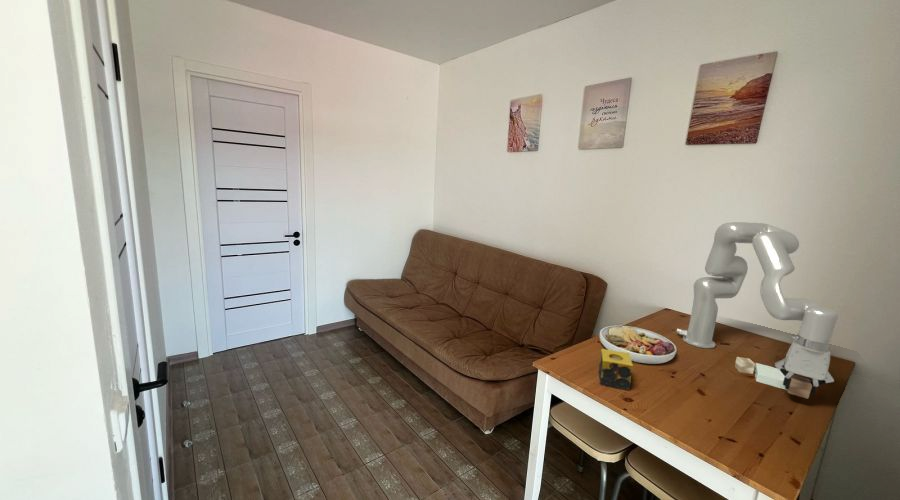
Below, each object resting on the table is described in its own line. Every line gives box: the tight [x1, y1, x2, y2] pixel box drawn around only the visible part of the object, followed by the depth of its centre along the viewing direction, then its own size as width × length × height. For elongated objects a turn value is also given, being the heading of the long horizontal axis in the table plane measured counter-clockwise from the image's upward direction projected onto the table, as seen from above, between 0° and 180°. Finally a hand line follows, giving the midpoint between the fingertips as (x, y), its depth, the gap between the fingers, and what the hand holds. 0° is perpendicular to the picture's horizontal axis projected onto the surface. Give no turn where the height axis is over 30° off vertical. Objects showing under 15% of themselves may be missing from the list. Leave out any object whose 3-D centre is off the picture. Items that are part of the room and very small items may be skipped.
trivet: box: [753, 362, 795, 391], centre depth 137 cm, size 11×11×3 cm
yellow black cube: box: [598, 348, 634, 391], centre depth 132 cm, size 10×10×10 cm
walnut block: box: [786, 374, 812, 400], centre depth 123 cm, size 5×5×5 cm
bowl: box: [599, 325, 677, 365], centre depth 158 cm, size 30×30×8 cm
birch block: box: [734, 356, 756, 375], centre depth 144 cm, size 4×4×4 cm
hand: (797, 390), depth 124 cm, fingers closed on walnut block, 5 cm apart
